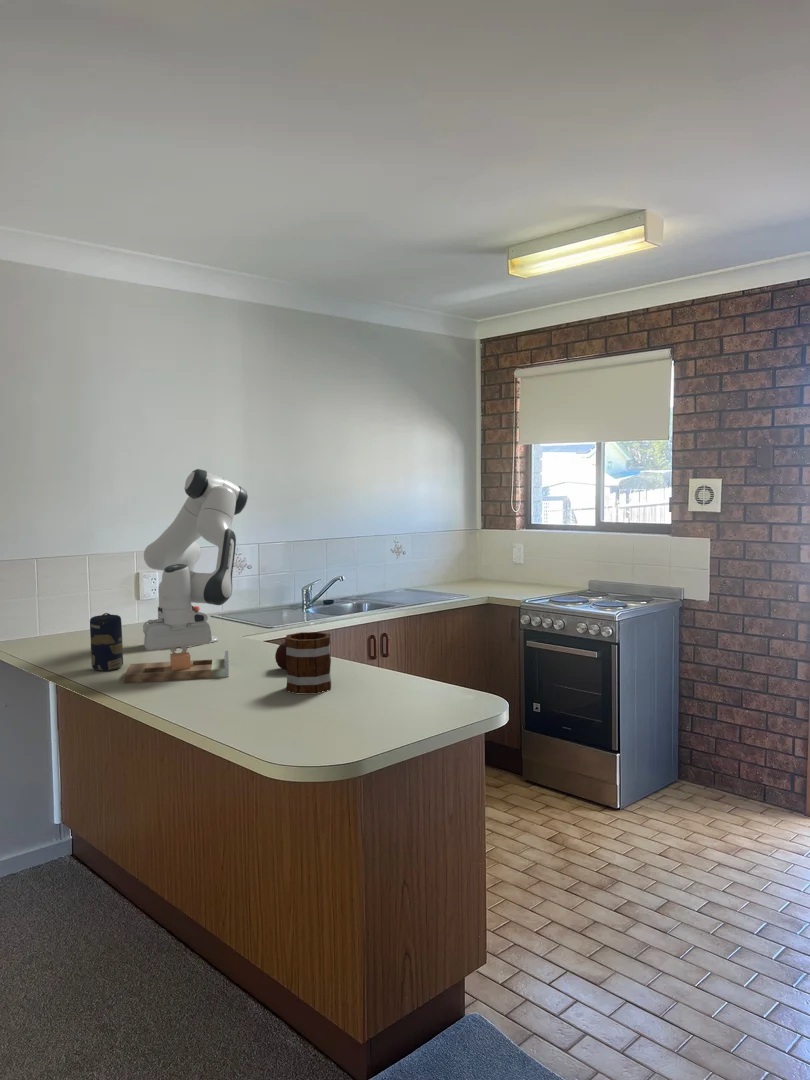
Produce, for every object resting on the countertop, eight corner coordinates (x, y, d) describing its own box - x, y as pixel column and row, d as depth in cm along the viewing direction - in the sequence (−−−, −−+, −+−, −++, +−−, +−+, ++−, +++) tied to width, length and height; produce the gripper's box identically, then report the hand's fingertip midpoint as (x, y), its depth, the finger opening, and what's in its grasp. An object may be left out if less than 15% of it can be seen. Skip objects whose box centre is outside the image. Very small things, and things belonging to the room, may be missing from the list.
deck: (124, 683, 233) (124, 674, 233) (130, 671, 248) (130, 663, 248) (225, 677, 239) (224, 668, 239) (225, 666, 254) (225, 658, 254)
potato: (293, 665, 255) (292, 636, 254) (312, 671, 245) (311, 642, 245) (269, 669, 249) (268, 640, 249) (287, 675, 240) (287, 645, 239)
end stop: (225, 677, 239) (224, 660, 239) (225, 666, 254) (225, 650, 254) (228, 676, 239) (228, 660, 239) (228, 666, 254) (228, 650, 254)
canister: (129, 667, 255) (127, 611, 254) (107, 673, 246) (105, 616, 245) (107, 664, 259) (105, 610, 258) (84, 670, 250) (82, 614, 249)
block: (171, 670, 238) (171, 657, 238) (170, 666, 243) (170, 653, 243) (190, 668, 240) (190, 655, 240) (189, 664, 245) (188, 652, 245)
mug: (319, 696, 216) (318, 641, 215) (276, 692, 221) (275, 639, 220) (349, 679, 234) (348, 629, 233) (308, 676, 239) (307, 627, 238)
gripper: (145, 621, 236) (146, 667, 237) (212, 615, 246) (214, 659, 247) (140, 619, 242) (142, 663, 243) (206, 612, 252) (208, 655, 253)
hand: (179, 661), depth 245 cm, fingers closed
